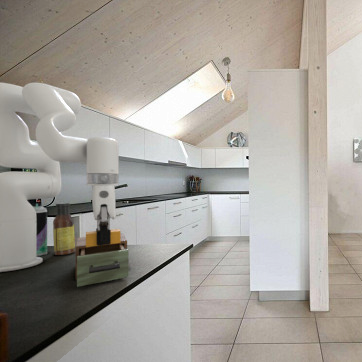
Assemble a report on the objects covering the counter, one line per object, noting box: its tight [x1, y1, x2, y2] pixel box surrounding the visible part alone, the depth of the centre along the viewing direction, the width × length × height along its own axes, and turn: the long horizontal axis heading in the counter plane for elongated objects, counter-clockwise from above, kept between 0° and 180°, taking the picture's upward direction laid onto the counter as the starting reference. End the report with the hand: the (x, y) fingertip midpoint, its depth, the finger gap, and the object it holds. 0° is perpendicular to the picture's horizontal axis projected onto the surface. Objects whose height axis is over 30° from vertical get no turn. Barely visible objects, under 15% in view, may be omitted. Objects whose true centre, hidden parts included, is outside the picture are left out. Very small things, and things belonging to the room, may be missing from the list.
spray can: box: [32, 202, 48, 257], centre depth 99 cm, size 6×6×20 cm
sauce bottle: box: [52, 202, 76, 256], centre depth 100 cm, size 7×6×20 cm
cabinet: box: [75, 232, 128, 281], centre depth 84 cm, size 15×13×10 cm
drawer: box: [76, 243, 130, 288], centre depth 74 cm, size 18×11×8 cm, turn 38°
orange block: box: [85, 228, 122, 247], centre depth 75 cm, size 8×4×4 cm, turn 128°
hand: (103, 242), depth 75 cm, fingers closed on orange block, 4 cm apart
